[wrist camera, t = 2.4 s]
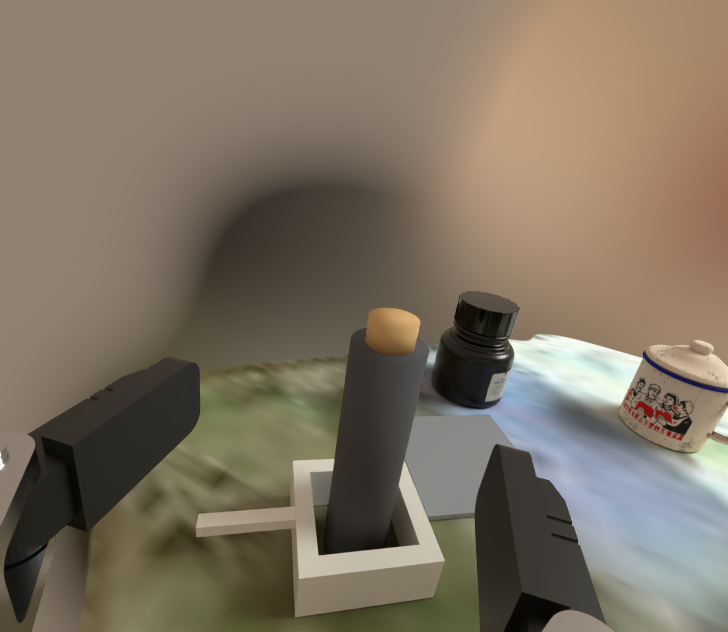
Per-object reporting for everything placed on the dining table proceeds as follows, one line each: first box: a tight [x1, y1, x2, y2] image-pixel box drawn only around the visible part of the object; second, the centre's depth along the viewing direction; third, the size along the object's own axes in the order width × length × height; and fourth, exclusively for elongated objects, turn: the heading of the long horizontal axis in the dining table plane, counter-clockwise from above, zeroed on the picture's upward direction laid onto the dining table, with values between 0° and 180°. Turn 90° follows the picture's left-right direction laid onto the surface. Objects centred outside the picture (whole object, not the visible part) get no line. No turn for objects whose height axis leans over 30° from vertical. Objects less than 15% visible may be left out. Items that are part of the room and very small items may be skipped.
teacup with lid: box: [619, 340, 728, 452], centre depth 43 cm, size 12×9×12 cm
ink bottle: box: [432, 291, 520, 408], centre depth 46 cm, size 10×9×12 cm
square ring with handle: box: [196, 459, 445, 617], centre depth 26 cm, size 15×9×4 cm, turn 102°
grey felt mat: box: [404, 415, 537, 521], centre depth 37 cm, size 12×12×1 cm
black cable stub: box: [324, 308, 429, 555], centre depth 24 cm, size 4×4×18 cm
